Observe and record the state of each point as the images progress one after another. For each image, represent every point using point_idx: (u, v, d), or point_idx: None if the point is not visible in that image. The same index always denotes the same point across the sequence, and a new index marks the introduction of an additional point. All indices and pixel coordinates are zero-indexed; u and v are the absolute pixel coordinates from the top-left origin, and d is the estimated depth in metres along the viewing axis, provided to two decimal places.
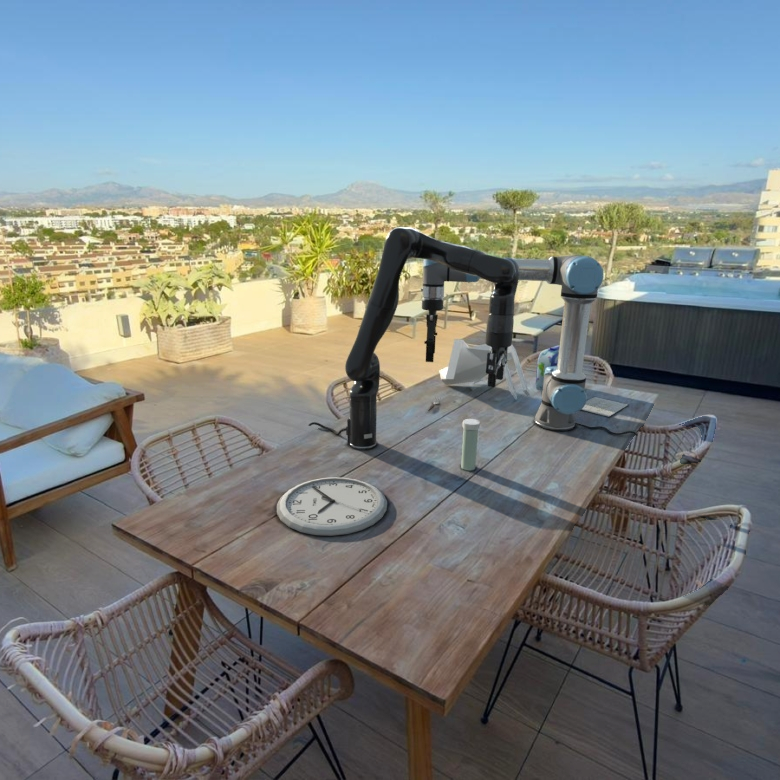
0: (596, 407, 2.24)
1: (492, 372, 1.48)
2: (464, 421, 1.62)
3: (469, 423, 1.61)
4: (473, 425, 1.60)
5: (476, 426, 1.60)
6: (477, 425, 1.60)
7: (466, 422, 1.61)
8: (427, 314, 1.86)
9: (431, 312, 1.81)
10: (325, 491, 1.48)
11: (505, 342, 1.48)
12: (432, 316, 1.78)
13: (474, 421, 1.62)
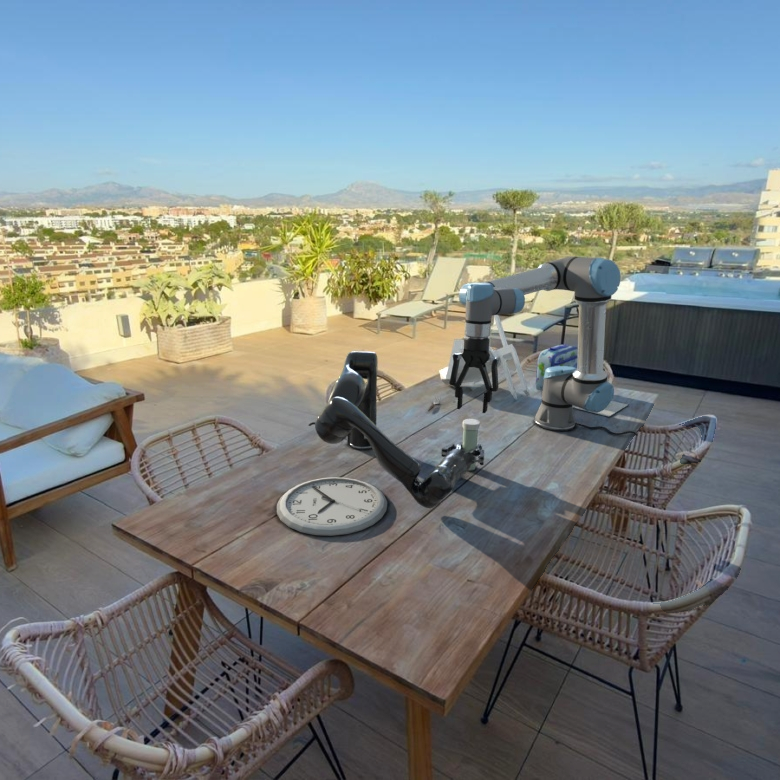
0: None
1: None
2: (464, 421, 1.62)
3: (469, 423, 1.61)
4: (473, 425, 1.60)
5: (476, 426, 1.60)
6: (477, 425, 1.60)
7: (466, 422, 1.61)
8: None
9: None
10: (325, 491, 1.48)
11: None
12: None
13: (474, 421, 1.62)
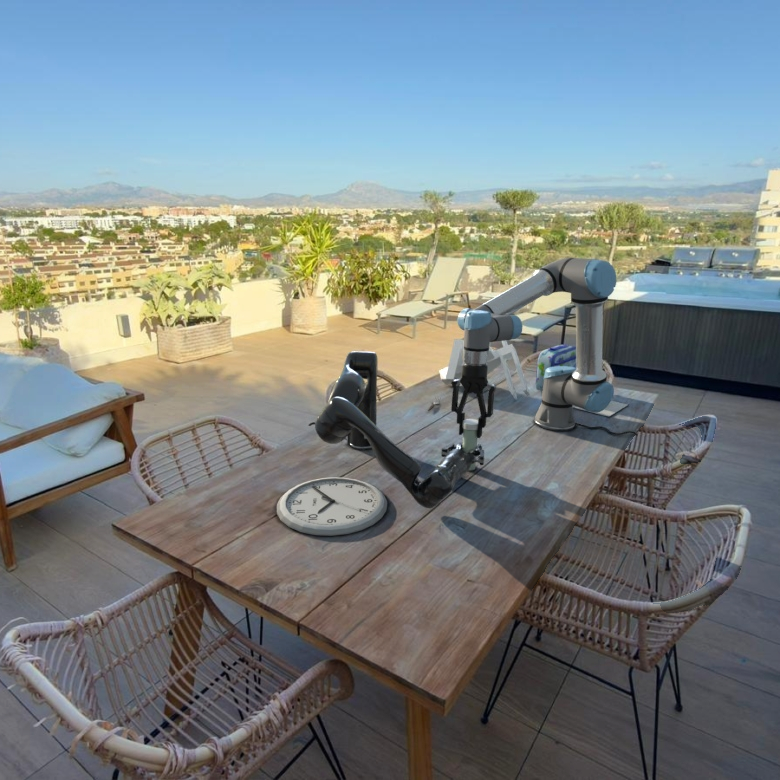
0: None
1: None
2: (464, 421, 1.62)
3: (469, 423, 1.61)
4: (473, 425, 1.60)
5: (476, 426, 1.60)
6: (477, 425, 1.60)
7: (466, 422, 1.61)
8: None
9: None
10: (325, 491, 1.48)
11: None
12: None
13: (474, 421, 1.62)
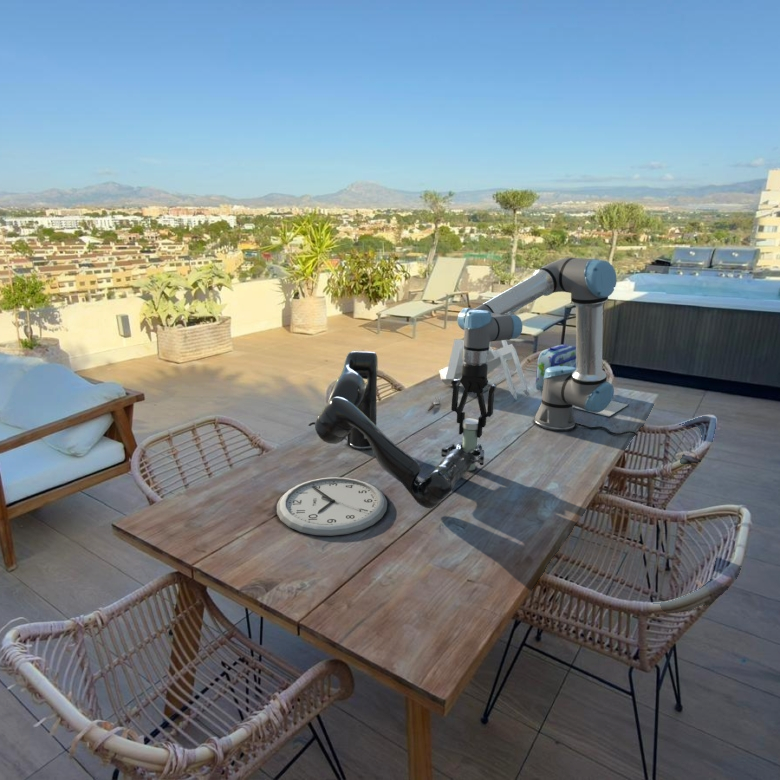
0: None
1: None
2: (475, 423, 1.60)
3: (476, 421, 1.62)
4: None
5: None
6: None
7: (476, 422, 1.61)
8: None
9: None
10: (325, 491, 1.48)
11: None
12: None
13: (468, 420, 1.63)
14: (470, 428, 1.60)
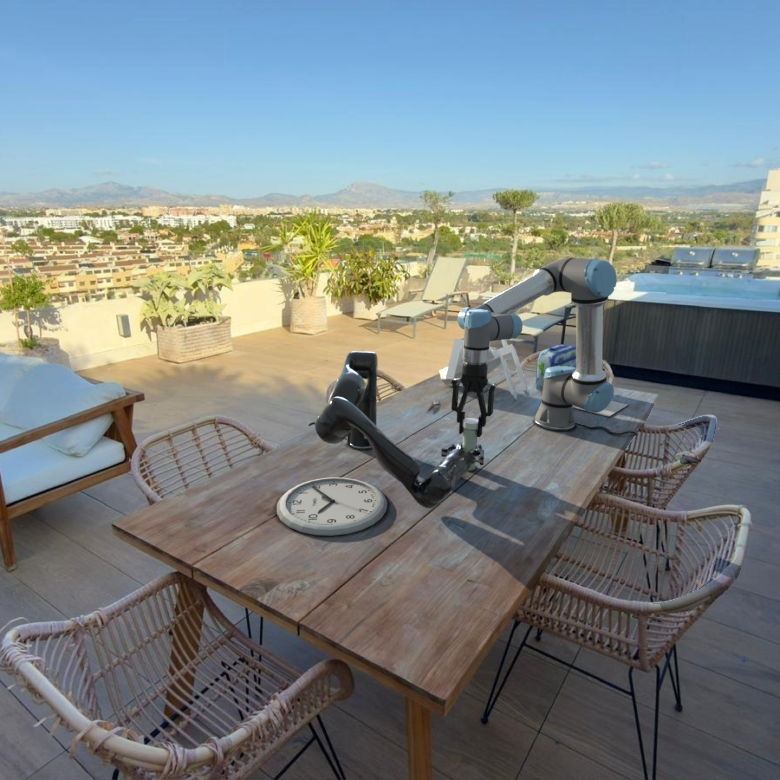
0: None
1: None
2: (473, 418, 1.64)
3: (467, 419, 1.63)
4: (463, 420, 1.63)
5: (463, 423, 1.62)
6: (463, 422, 1.62)
7: (470, 418, 1.64)
8: None
9: None
10: (325, 491, 1.48)
11: None
12: None
13: (470, 421, 1.61)
14: None
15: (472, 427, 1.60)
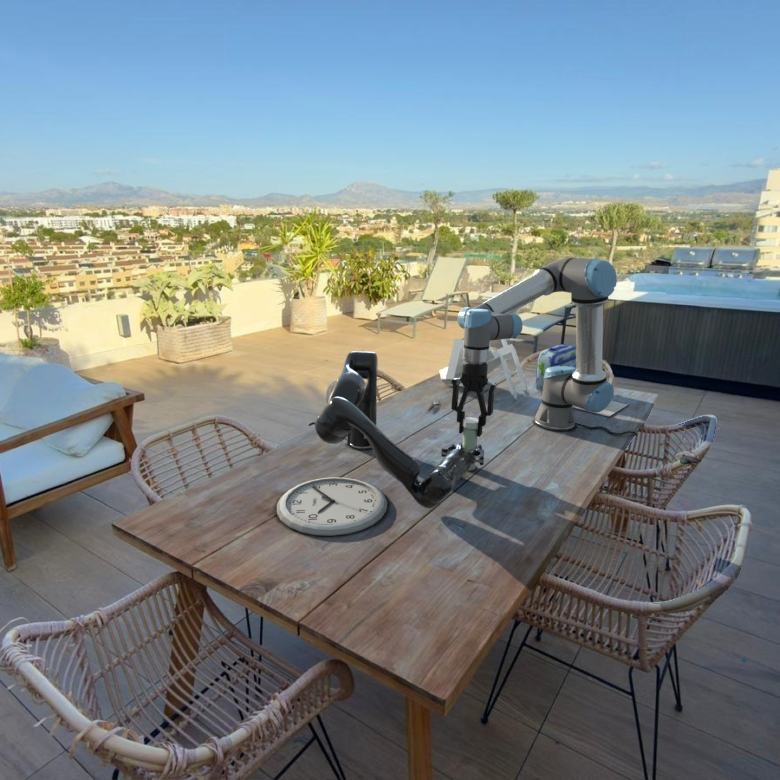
0: None
1: None
2: (464, 420, 1.62)
3: (470, 422, 1.60)
4: (474, 423, 1.60)
5: (477, 424, 1.60)
6: None
7: (467, 421, 1.61)
8: None
9: None
10: (325, 491, 1.48)
11: None
12: None
13: (474, 420, 1.62)
14: None
15: None
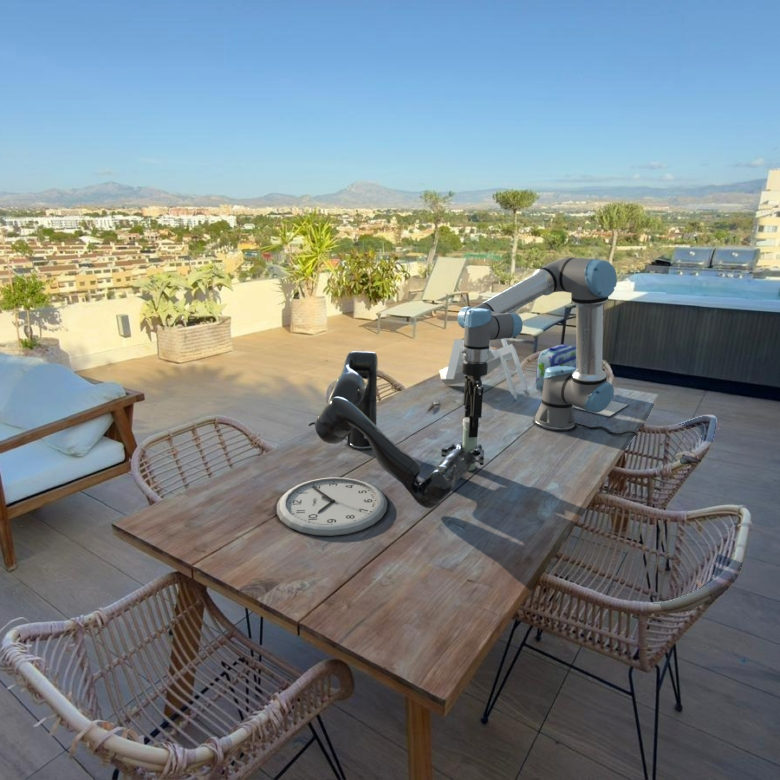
0: None
1: None
2: None
3: None
4: None
5: None
6: None
7: None
8: (467, 378, 1.59)
9: (477, 378, 1.54)
10: (325, 491, 1.48)
11: None
12: (480, 389, 1.52)
13: None
14: None
15: None
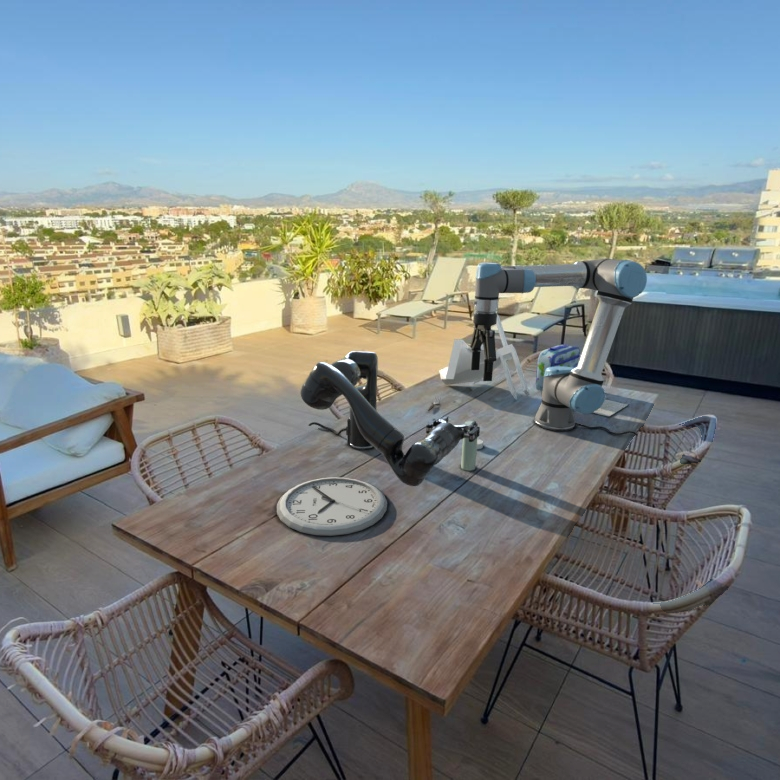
0: None
1: None
2: (480, 443, 1.81)
3: (480, 440, 1.83)
4: None
5: None
6: None
7: (480, 442, 1.82)
8: (478, 329, 1.72)
9: (487, 327, 1.67)
10: (325, 491, 1.48)
11: None
12: (492, 332, 1.64)
13: None
14: None
15: None
